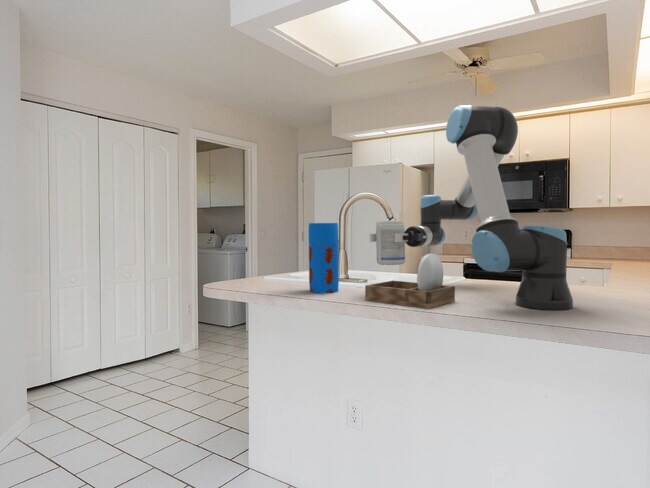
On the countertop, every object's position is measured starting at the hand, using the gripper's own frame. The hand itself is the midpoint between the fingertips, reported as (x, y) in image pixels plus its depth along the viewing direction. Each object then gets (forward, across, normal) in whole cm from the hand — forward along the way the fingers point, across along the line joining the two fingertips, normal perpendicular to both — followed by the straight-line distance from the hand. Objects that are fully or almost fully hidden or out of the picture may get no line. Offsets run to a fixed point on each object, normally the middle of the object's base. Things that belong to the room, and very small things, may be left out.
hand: (383, 237), depth 148 cm
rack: (0, -10, -20) cm, 22 cm away
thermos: (+2, +25, -20) cm, 32 cm away
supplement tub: (-4, 0, -9) cm, 10 cm away
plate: (0, -17, -19) cm, 26 cm away
